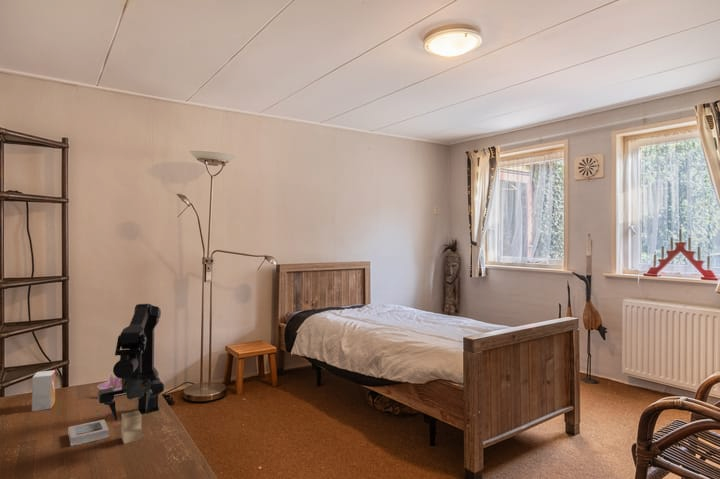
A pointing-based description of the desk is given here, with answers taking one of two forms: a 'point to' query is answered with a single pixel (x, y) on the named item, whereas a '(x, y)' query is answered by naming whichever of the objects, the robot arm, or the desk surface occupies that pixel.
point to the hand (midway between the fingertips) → (131, 417)
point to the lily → (111, 384)
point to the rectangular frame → (88, 436)
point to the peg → (131, 426)
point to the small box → (43, 390)
